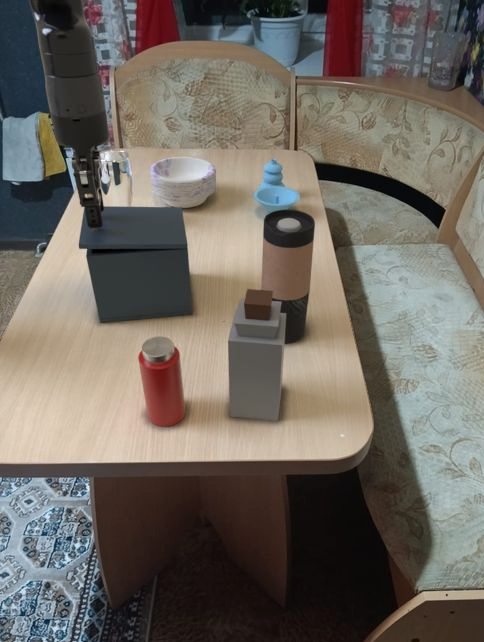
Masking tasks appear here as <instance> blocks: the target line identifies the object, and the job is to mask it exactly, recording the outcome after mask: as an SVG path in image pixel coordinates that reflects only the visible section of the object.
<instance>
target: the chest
mask: <svg viewBox="0 0 484 642" xmlns="http://www.w3.org/2000/svg"><path fill="white" fill-rule="evenodd" d="M85 257H86V263H87V267H88V272H89V277H90V282H91V286H92V291H93V296H94V301H95V305H96V310H97V311H96V312H97V316H98V319H99V323H100V324H102V323H103V324H105V323H114V322H125V321H137V320H147V319H158V318H159V319H160V318H168V317H181V316H192V315H193V300H192V299H193V298H192V287H191V274H190V260H189V247H188V248H187V249H86V254H85Z"/></svg>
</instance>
